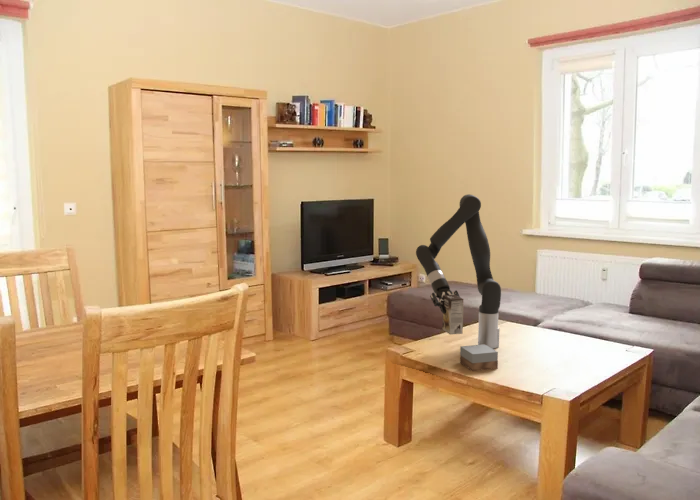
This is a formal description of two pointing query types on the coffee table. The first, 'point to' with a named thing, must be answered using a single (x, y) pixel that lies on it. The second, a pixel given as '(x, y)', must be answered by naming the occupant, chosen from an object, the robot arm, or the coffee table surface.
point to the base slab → (479, 364)
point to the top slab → (478, 353)
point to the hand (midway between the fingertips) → (452, 311)
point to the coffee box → (453, 314)
